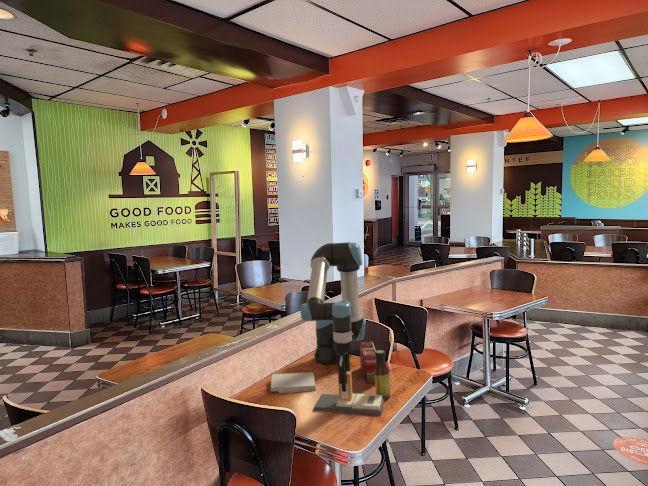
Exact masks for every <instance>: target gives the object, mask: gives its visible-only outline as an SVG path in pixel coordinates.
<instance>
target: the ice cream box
mask: <svg viewBox="0 0 648 486" xmlns="http://www.w3.org/2000/svg"><path fill="white" fill-rule="evenodd" d="M375 351H377V350H376V348H375V345H374V343H373V341H362V342H361V341H360V342H359V354H360V356H359V357H360V358H359V361H360V369H361V373H362V377H363V382H364V385H375V375H374V373H375V372H374V366H375V365H376V355H375Z"/></svg>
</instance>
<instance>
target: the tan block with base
mask: <svg viewBox="0 0 648 486" xmlns="http://www.w3.org/2000/svg"><path fill="white" fill-rule="evenodd" d="M352 378H353V377H352V371H351V370H350V371H347V383H348V399H344V398H342V397H341V384H339V372H337V382H338V395H339V399H338V401H337V403H336V406H337V407H351V406H352V402H353V400H354V397H355V395H356V393H354V392H353V379H352Z"/></svg>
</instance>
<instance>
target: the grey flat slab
mask: <svg viewBox="0 0 648 486" xmlns="http://www.w3.org/2000/svg"><path fill="white" fill-rule="evenodd" d="M270 382H271V383H270V392H278V393H279V394H284V393H287V394H288V393H298V392H301V393H302V392H309V391H313V392H314V391H316V381H315V374H314V372H311V371H310V372H295V373H293V372H292V373H277V374H276V373H273V374H272V375H271V381H270Z"/></svg>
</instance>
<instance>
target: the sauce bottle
mask: <svg viewBox="0 0 648 486" xmlns="http://www.w3.org/2000/svg"><path fill="white" fill-rule="evenodd" d="M375 355H376V365H375V366H374V372H375V373H374V375H375V384H374V386H375V395H382V397H383V398H384V400H388V399H389V398H391V392H392V391H391V382H390V381H391V380H390V371H389V369H390V368H389V367H388V365H387V361H386V353H385V351H384V350H382V349H378V350H376V351H375Z"/></svg>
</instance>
